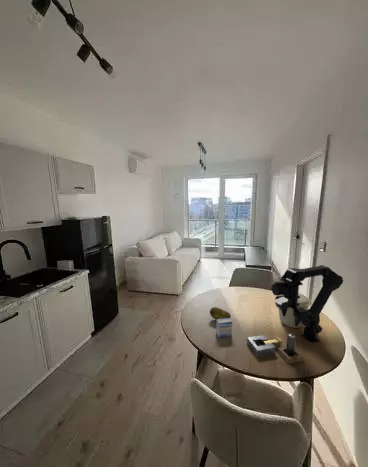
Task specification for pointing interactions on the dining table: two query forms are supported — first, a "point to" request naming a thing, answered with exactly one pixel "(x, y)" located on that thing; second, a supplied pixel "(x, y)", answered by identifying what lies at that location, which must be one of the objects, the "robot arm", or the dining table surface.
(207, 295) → the dining table surface
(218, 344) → the dining table surface
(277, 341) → the drift key
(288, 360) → the brown square frame
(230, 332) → the medicine box
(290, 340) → the grey peg
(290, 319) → the canister
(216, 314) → the potato
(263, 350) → the socket block
